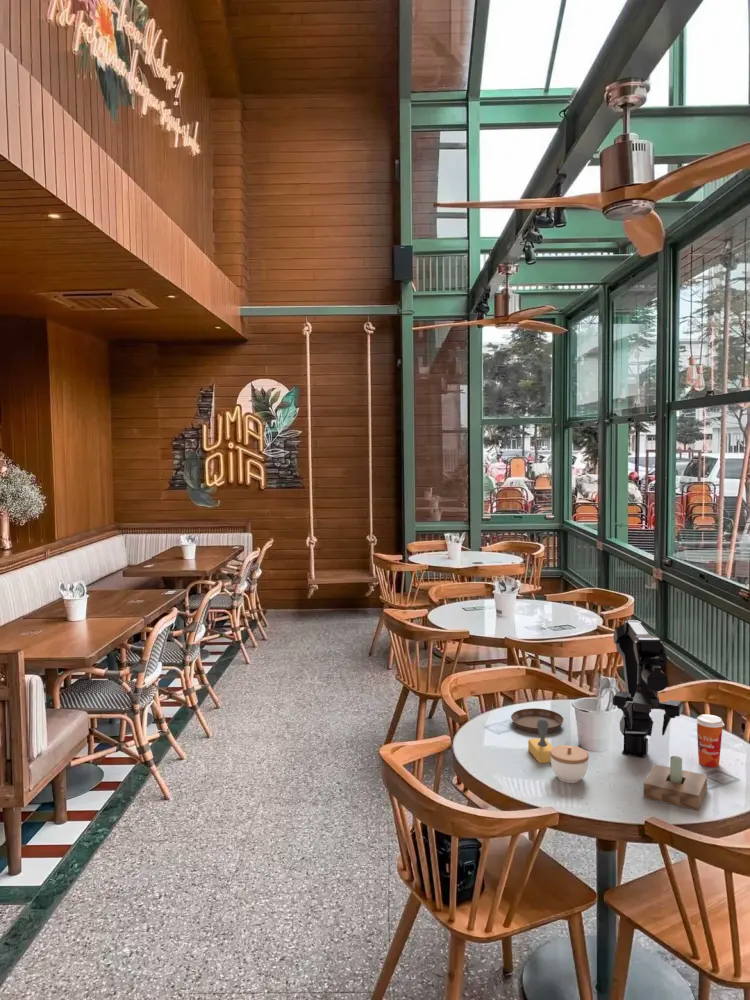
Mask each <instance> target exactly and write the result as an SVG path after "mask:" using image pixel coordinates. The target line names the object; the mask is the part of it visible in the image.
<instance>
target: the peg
mask: <svg viewBox="0 0 750 1000" xmlns="http://www.w3.org/2000/svg"><path fill="white" fill-rule="evenodd" d="M669 760H670V761H669V764H670V765H669V767H670V782H674V783H679V784H682V770H683V758H682V757H680V756H677V755H672V756H670V759H669Z"/></svg>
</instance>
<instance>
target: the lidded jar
mask: <svg viewBox="0 0 750 1000" xmlns="http://www.w3.org/2000/svg"><path fill="white" fill-rule="evenodd" d="M553 747H554V748H552V749H551V751H550V755H551V762H550V763H551V764H550V765H551V769H552V771H553V772H554V775H555V776H557V778H558V779H559V781H561V782H563V783H567V784H576V783H579V782H580V781H581V779H583V778H584V777H585V775H586V774H587V770H588V767H589V757H590V755H589V752H588V751H587V750H585V749H584V748H582V747H579V746H575V745H570V744H569V745H567V744H566V745H565V744H564V745H557V746H553Z"/></svg>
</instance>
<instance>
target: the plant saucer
mask: <svg viewBox="0 0 750 1000" xmlns="http://www.w3.org/2000/svg"><path fill="white" fill-rule="evenodd" d="M541 718H544V719H546V720H547V722H548V730H547V733H546V734H548V733H552V732H555V731H556V730H558V729H559V728H560V727H561V726H562V725H563V723H564V721H565V720H564V716H563V715H562V714H560V713H558V712H556V711H554V710H550V709H544V708H537V707H535V708H532V707H531V708H530V707H529V708H523V709H519V710H516V711H514V712H513V713H512V714H511V715H510V719H511V720H512V722H513V724H514V725H515V726H516V727H517V728H519V729H520V730H521V731H524V732H528V733H531V734H533V733H534V734H539V731H538V728H537V722H538V720H539V719H541Z"/></svg>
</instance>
